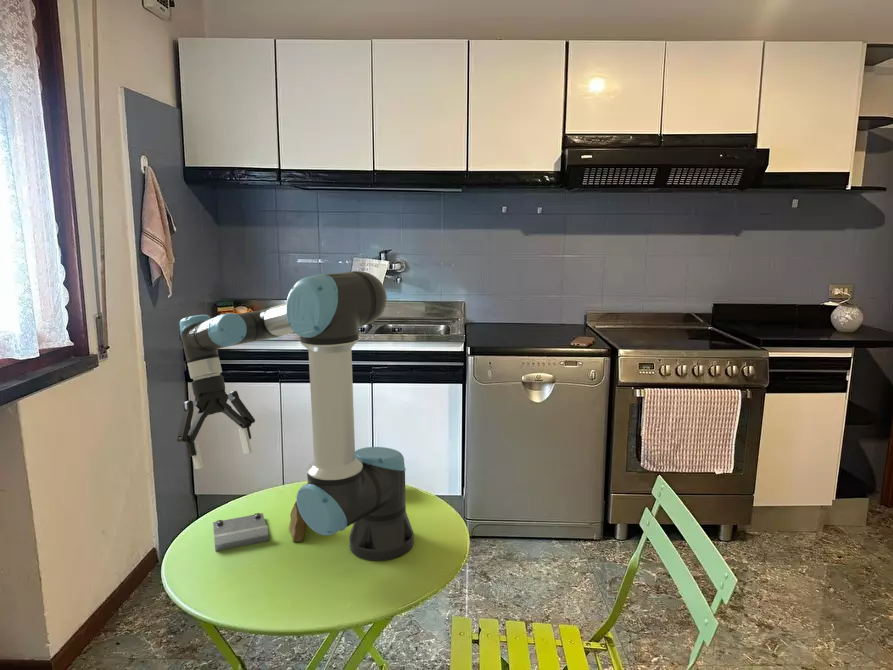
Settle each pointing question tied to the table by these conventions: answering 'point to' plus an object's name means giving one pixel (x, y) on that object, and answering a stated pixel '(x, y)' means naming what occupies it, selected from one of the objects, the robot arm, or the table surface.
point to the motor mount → (240, 531)
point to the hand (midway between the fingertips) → (224, 460)
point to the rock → (297, 524)
